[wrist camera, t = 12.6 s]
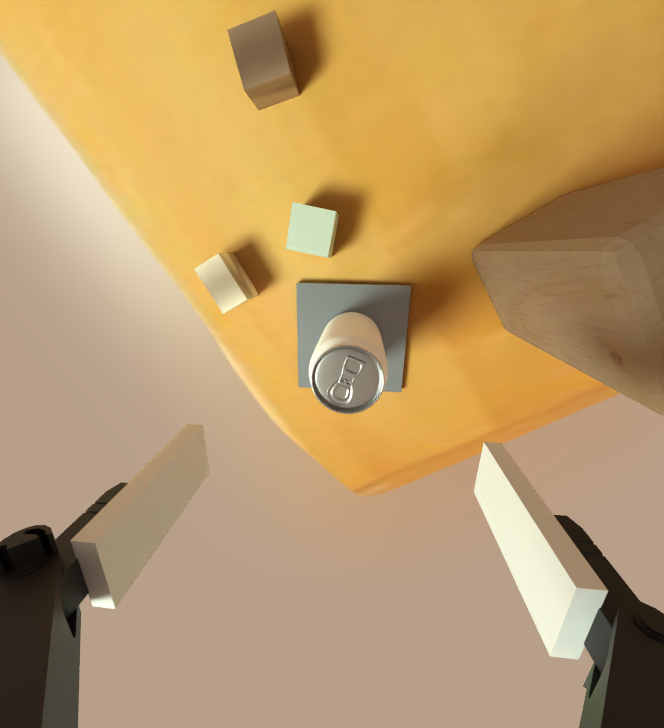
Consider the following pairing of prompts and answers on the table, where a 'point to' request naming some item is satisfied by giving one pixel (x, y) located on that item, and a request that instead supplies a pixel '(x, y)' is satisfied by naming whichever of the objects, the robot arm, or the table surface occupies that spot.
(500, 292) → the wooden block
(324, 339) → the can
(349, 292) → the slate coaster
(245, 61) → the walnut block
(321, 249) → the sage painted cube
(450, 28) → the table surface
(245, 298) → the pale birch block
